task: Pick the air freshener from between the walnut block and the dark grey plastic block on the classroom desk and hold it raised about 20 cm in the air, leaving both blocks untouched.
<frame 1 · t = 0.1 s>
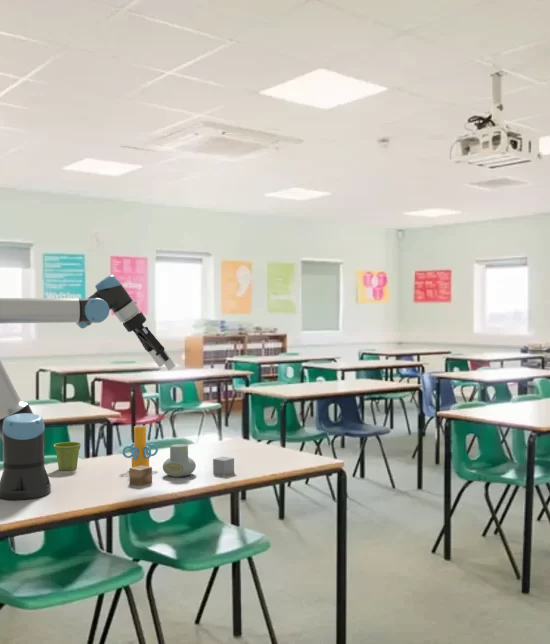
hand: (167, 366, 243), 36 cm above the table, tool tilted 35°, fingers open, 13 cm apart
plant pot: (67, 469, 246), on the table
air freshener: (179, 475, 235), on the table
walnut block: (140, 483, 224), on the table
grey block: (223, 473, 237), on the table
cylinder: (140, 470, 244), on the table
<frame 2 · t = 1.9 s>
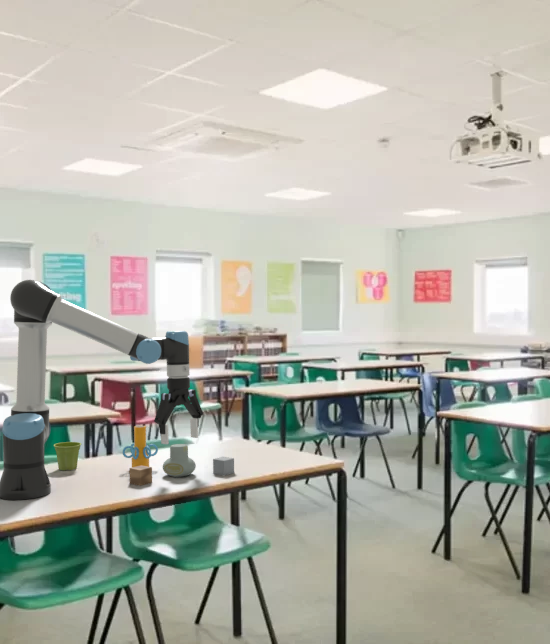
hand: (180, 440, 235), 11 cm above the table, tool pointing down, fingers open, 13 cm apart
nothing on the table moved.
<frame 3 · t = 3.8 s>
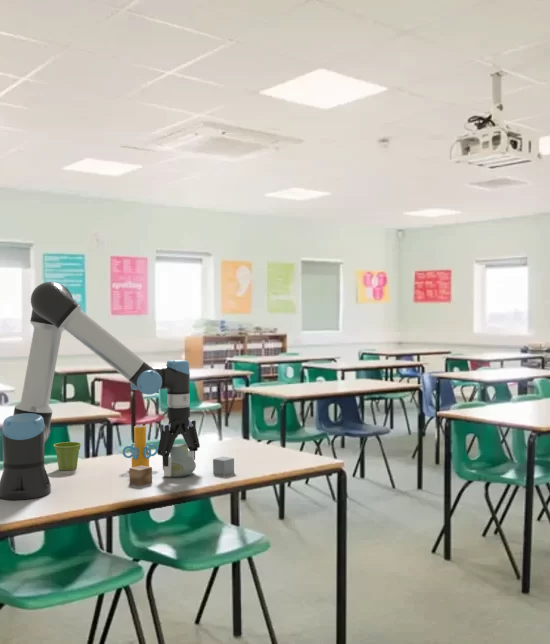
hand: (179, 472, 235), 1 cm above the table, tool pointing down, fingers closed on air freshener, 10 cm apart
air freshener: (179, 475, 235), on the table, touching gripper
everything else where it was.
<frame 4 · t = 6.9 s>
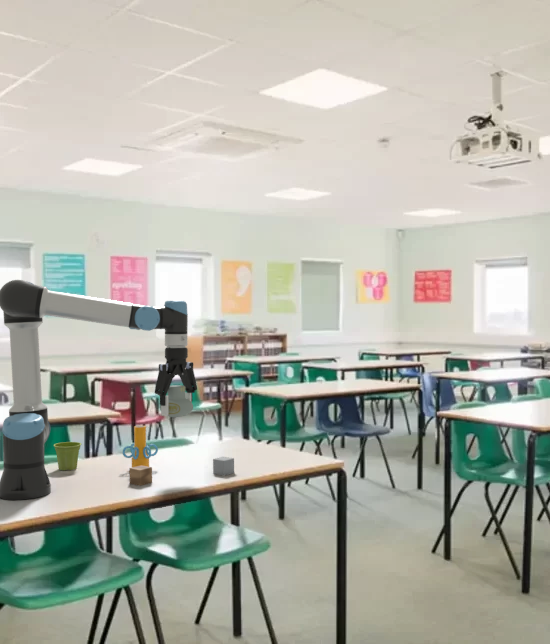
hand: (176, 413, 235), 21 cm above the table, tool pointing down, fingers closed on air freshener, 10 cm apart
air freshener: (176, 416, 235), point 20 cm above the table, touching gripper
everything else where it was.
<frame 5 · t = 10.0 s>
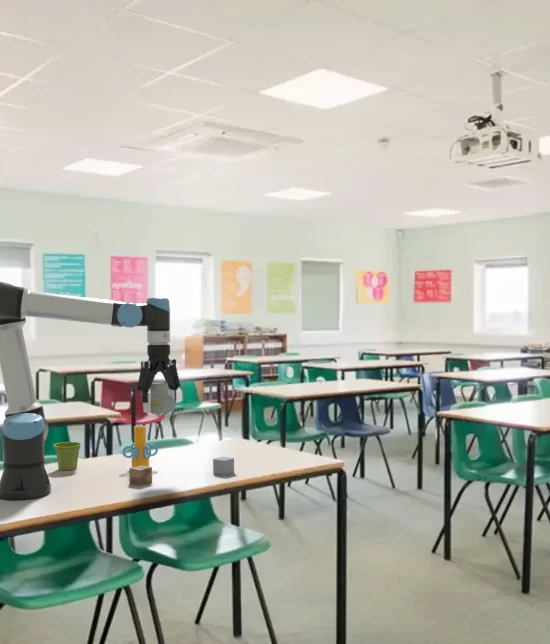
hand: (159, 410, 235), 22 cm above the table, tool pointing down, fingers closed on air freshener, 10 cm apart
air freshener: (159, 413, 235), point 21 cm above the table, touching gripper
everything else where it was.
at the end: the gripper is holding air freshener; air freshener point 20.7 cm above the table; walnut block moved 0.1 cm from its start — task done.
